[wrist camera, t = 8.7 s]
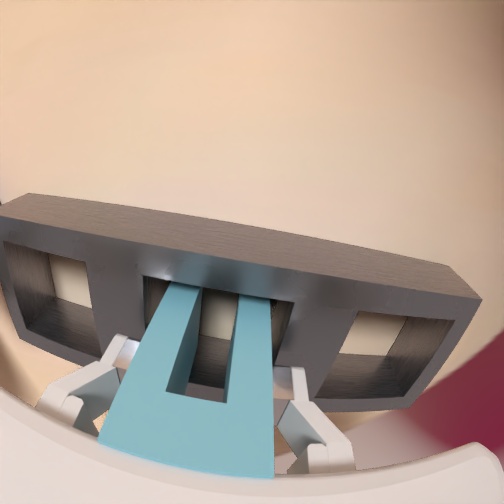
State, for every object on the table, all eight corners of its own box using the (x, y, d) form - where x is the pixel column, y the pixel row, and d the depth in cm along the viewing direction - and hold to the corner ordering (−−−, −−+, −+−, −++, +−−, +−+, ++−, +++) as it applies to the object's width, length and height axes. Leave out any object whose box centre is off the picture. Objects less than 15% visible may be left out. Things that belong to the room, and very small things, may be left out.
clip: (176, 272, 12) (96, 439, 4) (269, 288, 12) (274, 475, 5) (174, 340, 13) (127, 484, 6) (252, 354, 14) (245, 507, 6)
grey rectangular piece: (28, 193, 12) (-14, 212, 9) (448, 266, 13) (482, 299, 10) (46, 307, 15) (19, 338, 12) (393, 369, 16) (408, 408, 13)
